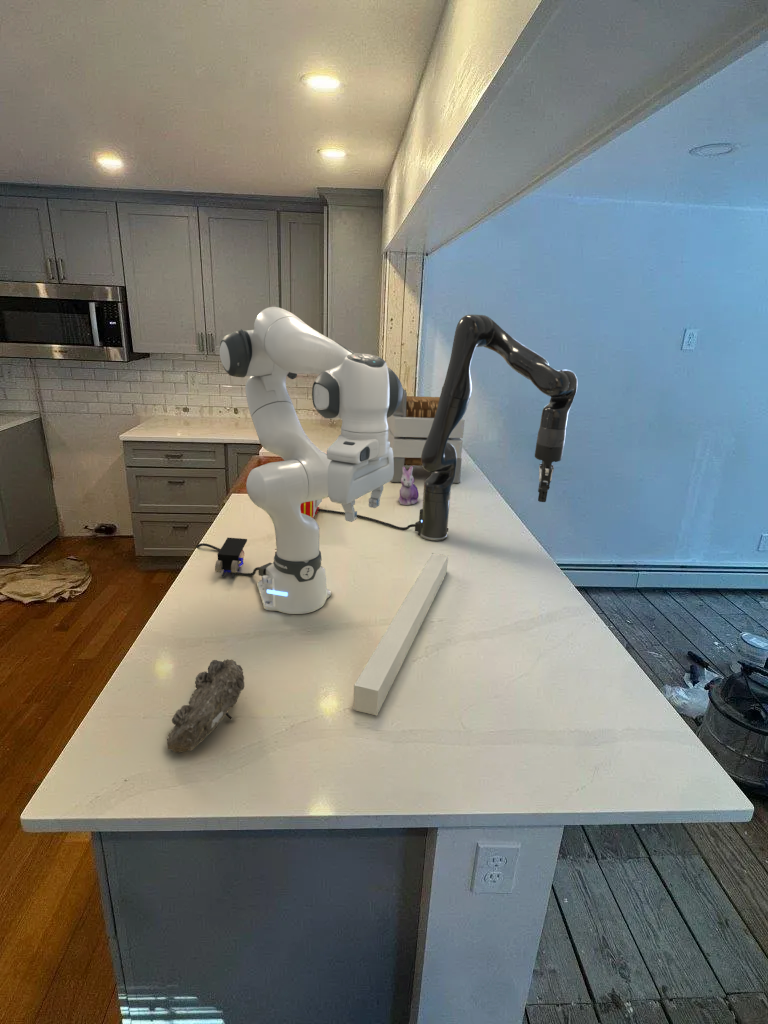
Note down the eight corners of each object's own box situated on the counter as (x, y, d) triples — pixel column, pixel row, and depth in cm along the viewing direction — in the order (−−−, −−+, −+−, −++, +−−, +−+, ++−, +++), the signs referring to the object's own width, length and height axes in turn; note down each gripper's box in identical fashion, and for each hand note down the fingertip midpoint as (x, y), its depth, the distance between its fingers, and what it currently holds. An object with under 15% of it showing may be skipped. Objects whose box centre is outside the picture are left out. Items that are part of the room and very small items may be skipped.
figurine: (404, 507, 227) (406, 470, 222) (392, 499, 235) (393, 464, 230) (424, 504, 231) (426, 468, 226) (411, 496, 239) (413, 462, 234)
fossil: (192, 660, 117) (244, 628, 112) (224, 691, 120) (276, 661, 115) (142, 746, 98) (202, 712, 93) (182, 779, 101) (242, 748, 96)
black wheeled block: (238, 584, 162) (249, 557, 175) (236, 562, 158) (247, 536, 172) (215, 584, 161) (227, 556, 175) (212, 561, 158) (225, 535, 171)
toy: (323, 481, 222) (316, 494, 193) (322, 514, 225) (316, 532, 196) (292, 480, 222) (280, 493, 193) (292, 513, 225) (281, 532, 195)
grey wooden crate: (382, 463, 289) (386, 382, 275) (445, 464, 293) (451, 384, 279) (390, 482, 257) (394, 392, 243) (460, 483, 261) (468, 394, 247)
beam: (430, 570, 173) (432, 552, 171) (446, 573, 172) (448, 555, 170) (353, 710, 112) (353, 685, 110) (377, 715, 110) (378, 690, 108)
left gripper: (375, 433, 117) (373, 497, 121) (321, 451, 99) (321, 525, 104) (402, 436, 114) (399, 502, 119) (352, 456, 97) (351, 532, 101)
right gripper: (536, 436, 167) (529, 488, 173) (536, 446, 154) (528, 503, 160) (563, 438, 165) (554, 491, 171) (565, 449, 152) (555, 506, 158)
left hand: (362, 513), depth 111 cm, fingers open, 8 cm apart
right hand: (541, 497), depth 165 cm, fingers open, 8 cm apart
